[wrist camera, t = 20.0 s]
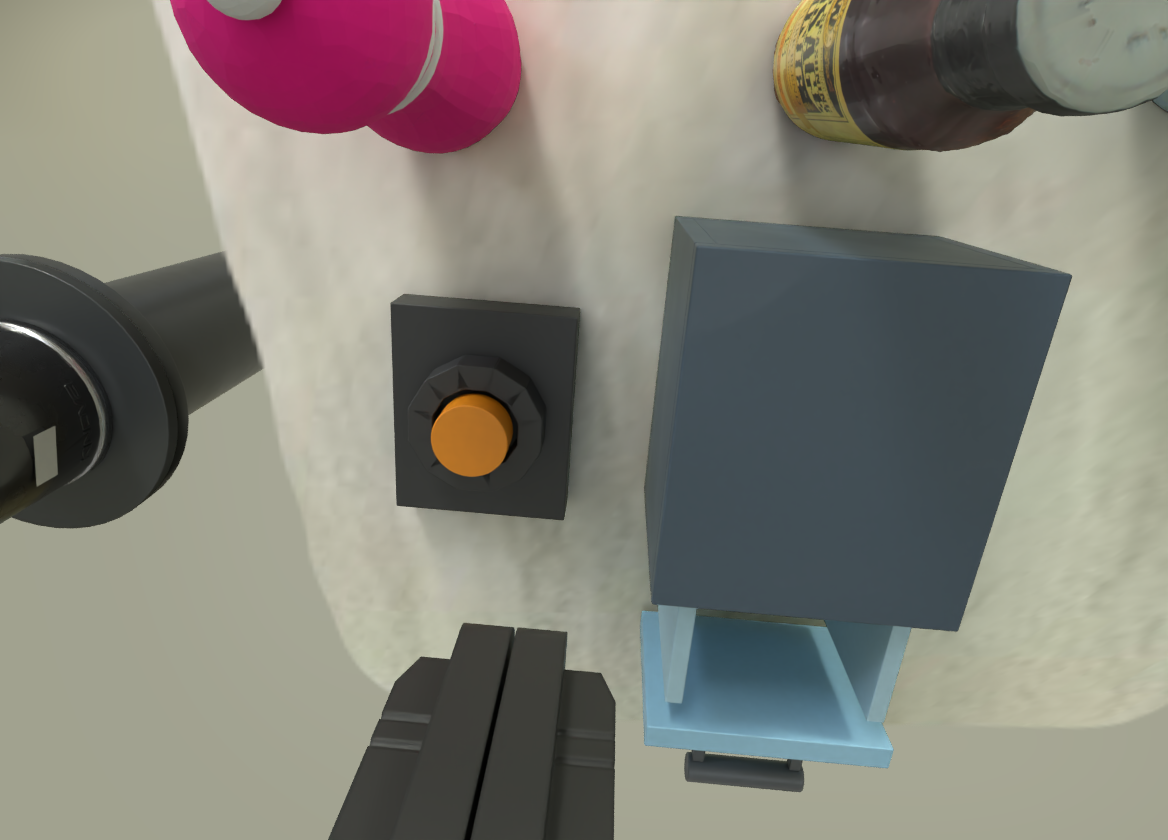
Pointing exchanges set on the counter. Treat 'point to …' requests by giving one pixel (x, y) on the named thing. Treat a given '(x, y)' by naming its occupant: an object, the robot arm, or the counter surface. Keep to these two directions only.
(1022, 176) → the counter surface
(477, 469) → the button
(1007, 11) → the sauce bottle
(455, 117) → the pepper mill
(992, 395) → the grey drawer cabinet
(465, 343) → the block
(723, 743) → the light blue drawer
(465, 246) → the counter surface
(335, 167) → the counter surface
